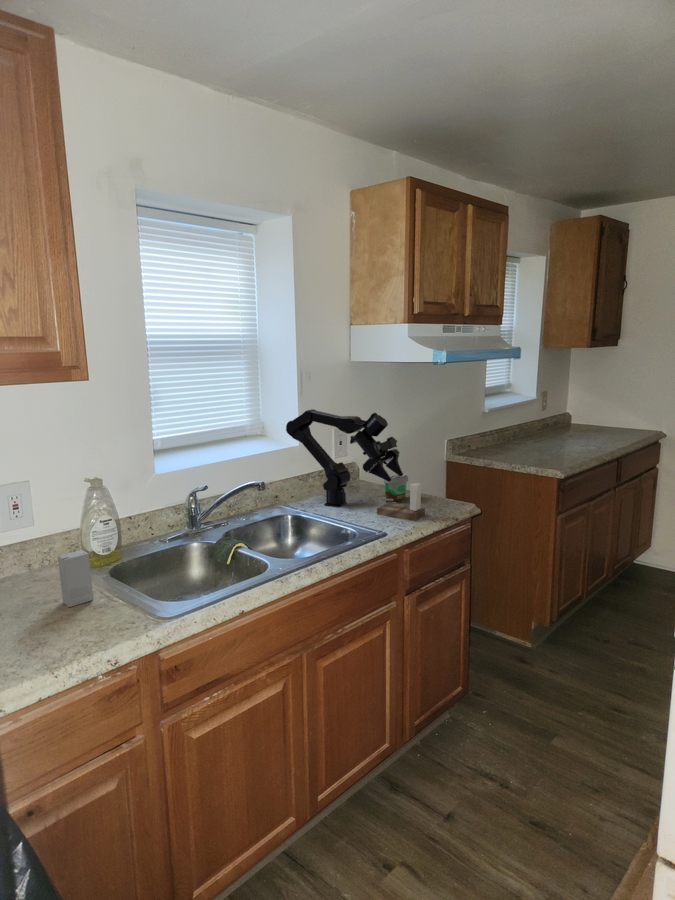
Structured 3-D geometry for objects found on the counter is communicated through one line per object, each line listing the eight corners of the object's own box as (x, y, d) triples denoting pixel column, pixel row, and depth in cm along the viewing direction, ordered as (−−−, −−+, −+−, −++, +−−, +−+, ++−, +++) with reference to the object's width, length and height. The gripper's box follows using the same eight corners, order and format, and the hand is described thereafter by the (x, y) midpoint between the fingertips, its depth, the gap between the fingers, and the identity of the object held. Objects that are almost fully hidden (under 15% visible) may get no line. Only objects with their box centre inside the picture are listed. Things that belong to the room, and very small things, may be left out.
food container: (397, 505, 223) (397, 479, 221) (383, 503, 227) (383, 477, 225) (414, 498, 233) (414, 473, 231) (400, 496, 237) (400, 471, 235)
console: (376, 514, 212) (376, 507, 212) (387, 509, 219) (387, 502, 218) (415, 520, 204) (415, 513, 204) (424, 515, 211) (425, 508, 210)
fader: (409, 509, 207) (410, 484, 206) (414, 507, 210) (414, 482, 208) (416, 510, 206) (416, 485, 204) (420, 508, 209) (420, 483, 207)
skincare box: (87, 595, 147) (83, 548, 145) (94, 600, 144) (90, 553, 141) (61, 602, 143) (56, 554, 141) (68, 608, 140) (63, 559, 137)
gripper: (370, 434, 202) (399, 469, 198) (394, 427, 218) (422, 459, 214) (350, 454, 208) (378, 489, 204) (375, 446, 223) (402, 478, 219)
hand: (396, 478), depth 210 cm, fingers open, 9 cm apart
